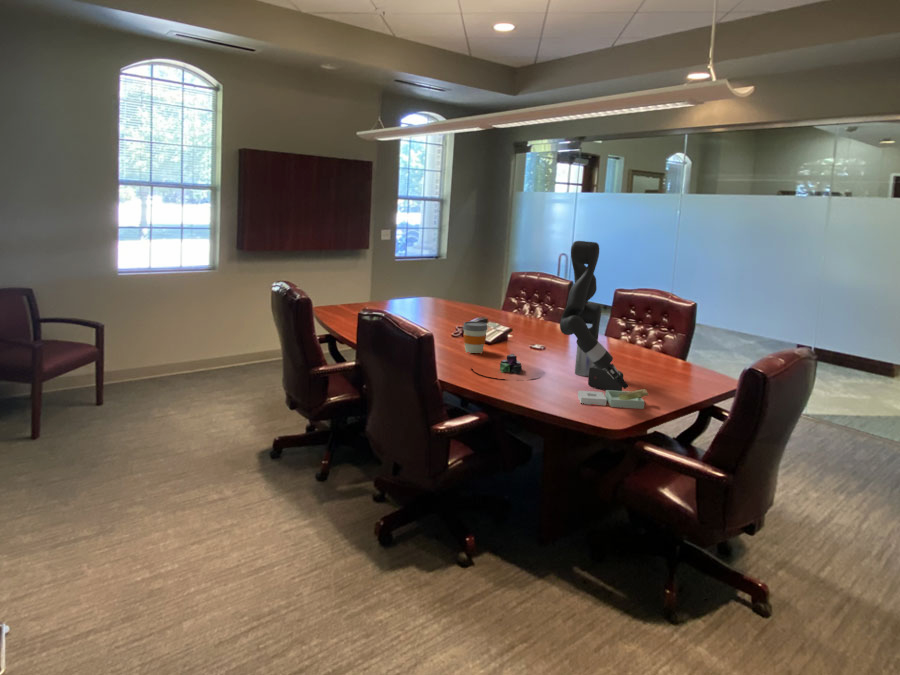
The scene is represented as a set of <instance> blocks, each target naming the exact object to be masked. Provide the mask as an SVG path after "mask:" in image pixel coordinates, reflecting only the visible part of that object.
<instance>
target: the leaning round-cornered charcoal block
mask: <svg viewBox="0 0 900 675" xmlns="http://www.w3.org/2000/svg"><path fill="white" fill-rule="evenodd" d="M605 369H606V368H603V369H601V370H599V369H598V368H597V367H596V366H591V367H590V368H589V376H588V380H587V385H589V387H591V388H594V387H595V389H598V390H602V391H606V390H613V391H623V387H622V386H621V385H620V384H619V383H618V382H616V380H615V379H613V378H612V377H611V376H610V375H609V374H608V373H607V372H606V370H605ZM618 372H619V373H620V375H621V377H622V378H623V379H624V373H623V372H622V371H620V370H618Z"/></svg>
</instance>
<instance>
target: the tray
mask: <svg viewBox="0 0 900 675" xmlns="http://www.w3.org/2000/svg"><path fill="white" fill-rule="evenodd" d="M626 392H630V391H629V390H628V391H627V390H622V391H613V390H605V394H604V396H605V397H606V399H607V404H609V407H610V406H611V408H622V407H623V408H625V409H626V408H627V409H640V410H641V409H642V410H644V408H645V400H644V399H643V397H639V398H635V399H630V400H620V399H619V395H618V394H622V393H626ZM623 408H622V409H623Z"/></svg>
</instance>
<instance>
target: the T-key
mask: <svg viewBox="0 0 900 675" xmlns="http://www.w3.org/2000/svg"><path fill="white" fill-rule="evenodd" d="M618 395H619V399H620V400H630V399H635V398H639V397H642V398H644V397H646V396H649V392H648V391H647V389H645V388H643V389H636V390H632V391H629V392H626V393H622V394H618Z"/></svg>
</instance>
